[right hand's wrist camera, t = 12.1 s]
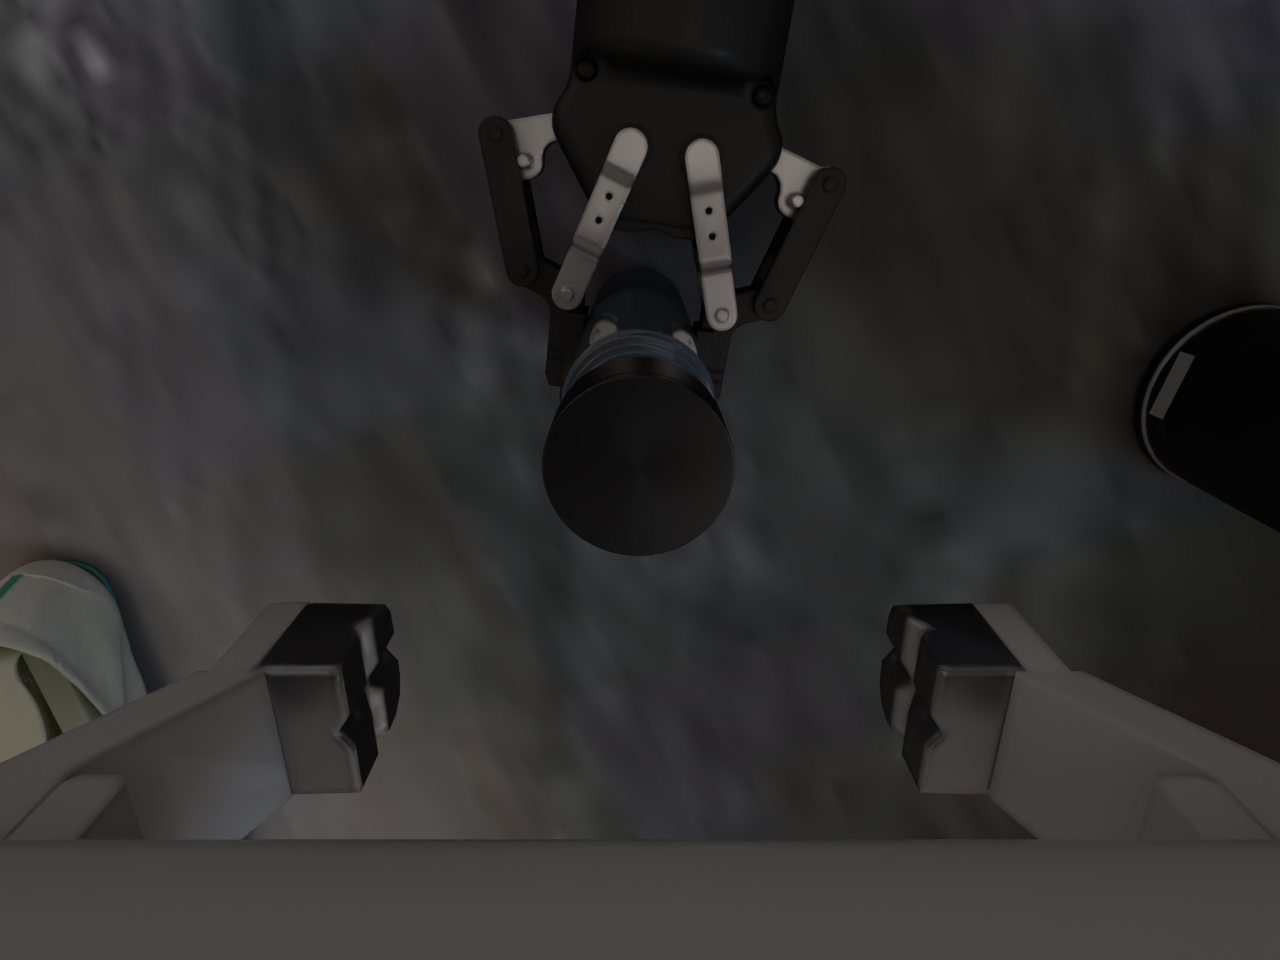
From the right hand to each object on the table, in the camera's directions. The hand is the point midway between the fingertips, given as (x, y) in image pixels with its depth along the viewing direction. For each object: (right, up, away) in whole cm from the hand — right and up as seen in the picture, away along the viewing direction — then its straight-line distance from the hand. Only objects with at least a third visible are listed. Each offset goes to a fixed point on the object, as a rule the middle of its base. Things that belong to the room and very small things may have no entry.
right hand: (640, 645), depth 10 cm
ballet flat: (-31, -13, +36) cm, 49 cm away
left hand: (0, +5, +21) cm, 22 cm away
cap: (0, +3, +7) cm, 7 cm away
